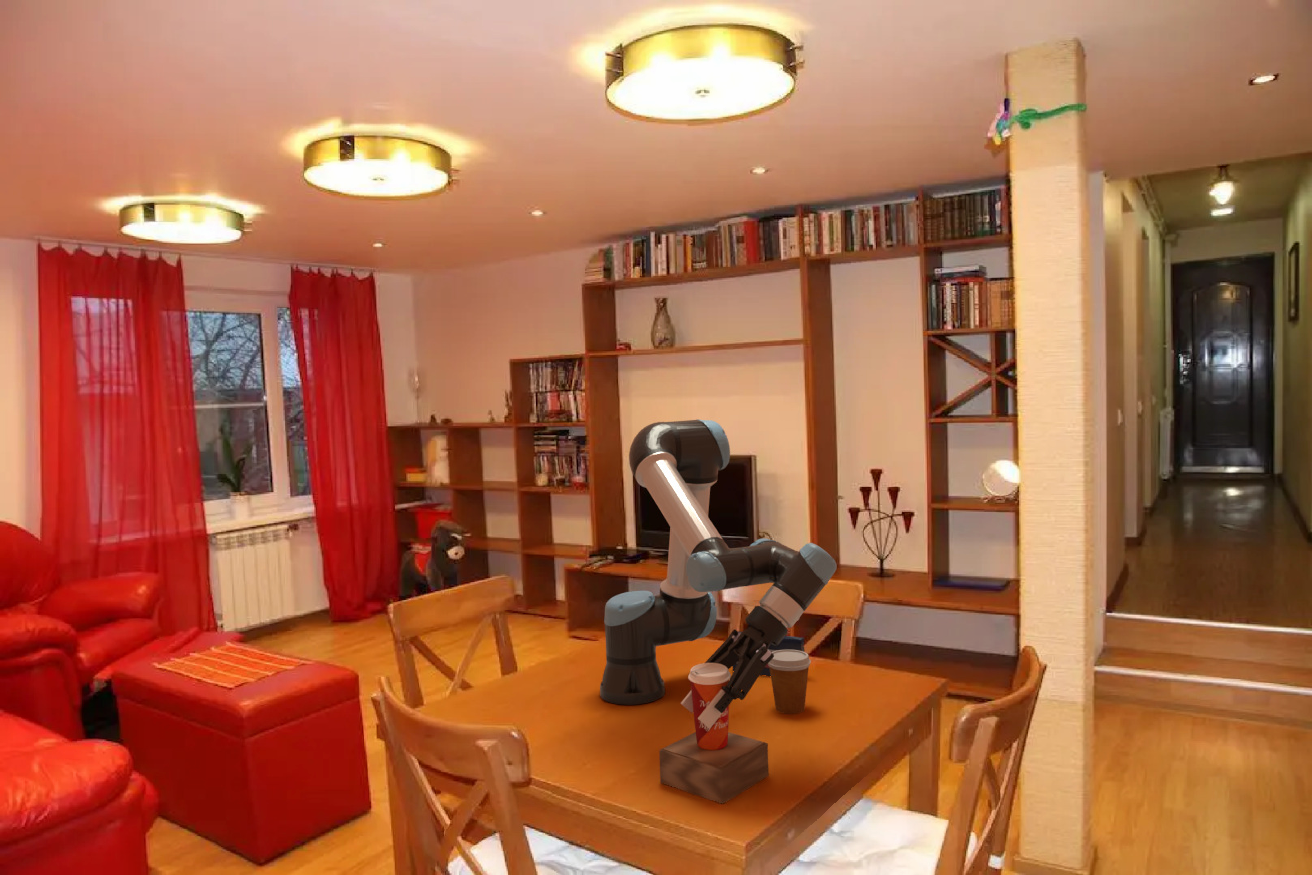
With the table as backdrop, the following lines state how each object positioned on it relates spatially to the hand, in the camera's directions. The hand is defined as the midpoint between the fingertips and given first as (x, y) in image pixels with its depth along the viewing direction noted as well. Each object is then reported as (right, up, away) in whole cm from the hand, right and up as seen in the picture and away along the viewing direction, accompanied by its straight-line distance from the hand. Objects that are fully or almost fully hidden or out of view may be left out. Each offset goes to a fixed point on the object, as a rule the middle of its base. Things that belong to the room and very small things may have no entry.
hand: (694, 715), depth 160 cm
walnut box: (+4, -12, +2) cm, 13 cm away
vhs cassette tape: (+21, -9, +60) cm, 64 cm away
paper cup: (+3, -6, +2) cm, 7 cm away
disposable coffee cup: (+23, -10, +36) cm, 43 cm away
